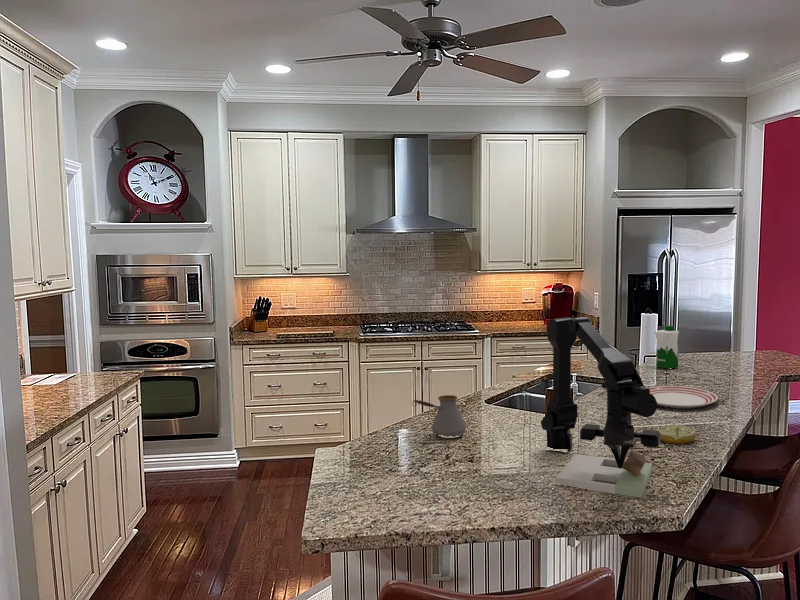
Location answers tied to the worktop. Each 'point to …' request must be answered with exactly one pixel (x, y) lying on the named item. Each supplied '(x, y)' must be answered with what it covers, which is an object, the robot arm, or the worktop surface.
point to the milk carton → (667, 347)
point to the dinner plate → (682, 396)
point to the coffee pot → (447, 416)
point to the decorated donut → (676, 434)
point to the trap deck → (604, 476)
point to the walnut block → (634, 463)
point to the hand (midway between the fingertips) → (620, 468)
